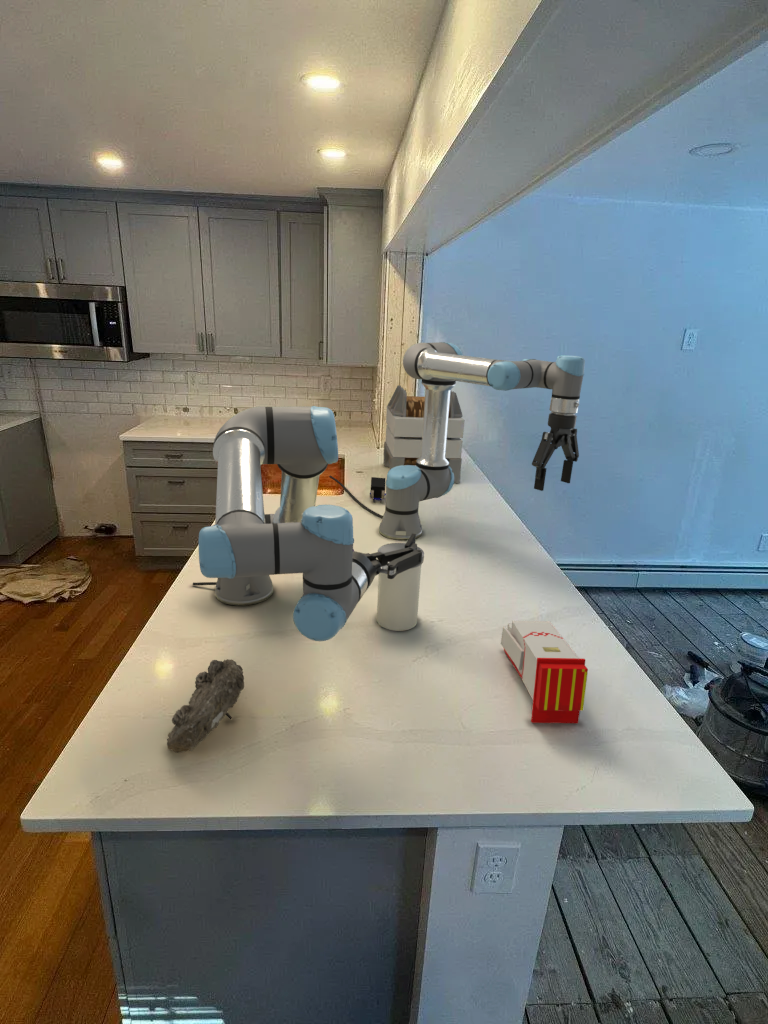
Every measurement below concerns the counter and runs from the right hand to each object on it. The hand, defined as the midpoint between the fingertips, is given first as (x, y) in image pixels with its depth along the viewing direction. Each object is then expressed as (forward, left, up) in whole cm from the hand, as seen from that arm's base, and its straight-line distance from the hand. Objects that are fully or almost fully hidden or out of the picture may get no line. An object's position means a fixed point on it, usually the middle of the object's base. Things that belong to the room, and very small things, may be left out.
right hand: (552, 485), depth 166 cm
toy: (+32, -47, -28) cm, 64 cm away
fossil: (0, -107, -28) cm, 110 cm away
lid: (-5, -54, -9) cm, 56 cm away
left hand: (+6, -71, +3) cm, 71 cm away
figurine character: (-82, +4, -28) cm, 87 cm away
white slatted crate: (-101, +46, -28) cm, 115 cm away
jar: (-5, -54, -28) cm, 61 cm away
